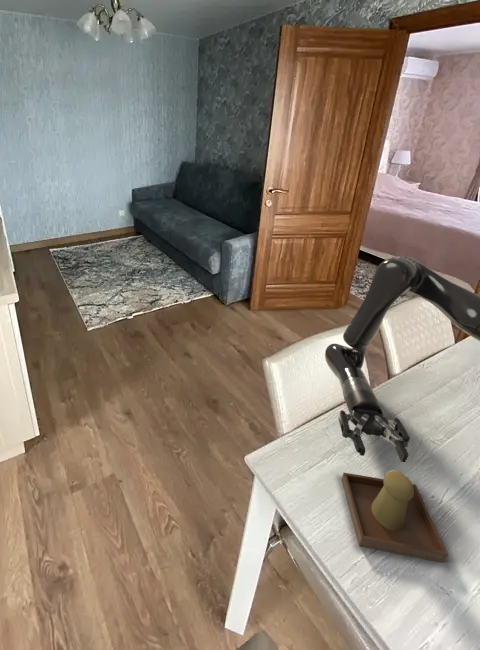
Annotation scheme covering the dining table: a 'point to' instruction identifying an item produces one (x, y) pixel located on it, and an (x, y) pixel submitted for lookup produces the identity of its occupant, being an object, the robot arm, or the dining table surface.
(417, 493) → the tray
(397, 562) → the dining table surface
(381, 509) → the cork
